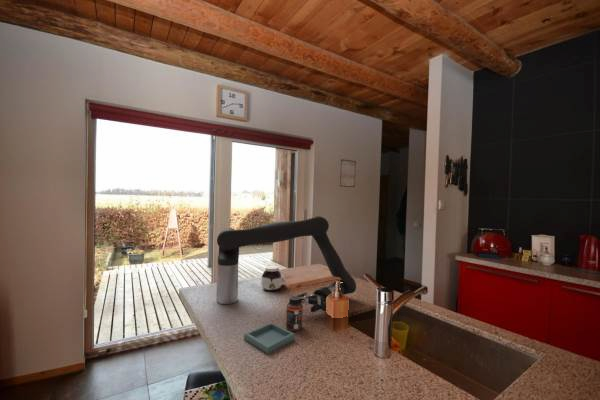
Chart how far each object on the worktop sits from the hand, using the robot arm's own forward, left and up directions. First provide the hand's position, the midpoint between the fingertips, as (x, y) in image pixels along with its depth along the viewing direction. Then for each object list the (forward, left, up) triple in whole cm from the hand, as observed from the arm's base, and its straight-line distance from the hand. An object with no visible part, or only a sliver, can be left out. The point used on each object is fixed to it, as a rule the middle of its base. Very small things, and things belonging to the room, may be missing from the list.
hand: (302, 306), depth 105 cm
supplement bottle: (0, -5, -7) cm, 8 cm away
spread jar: (-38, +19, -7) cm, 43 cm away
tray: (0, -17, -6) cm, 18 cm away
